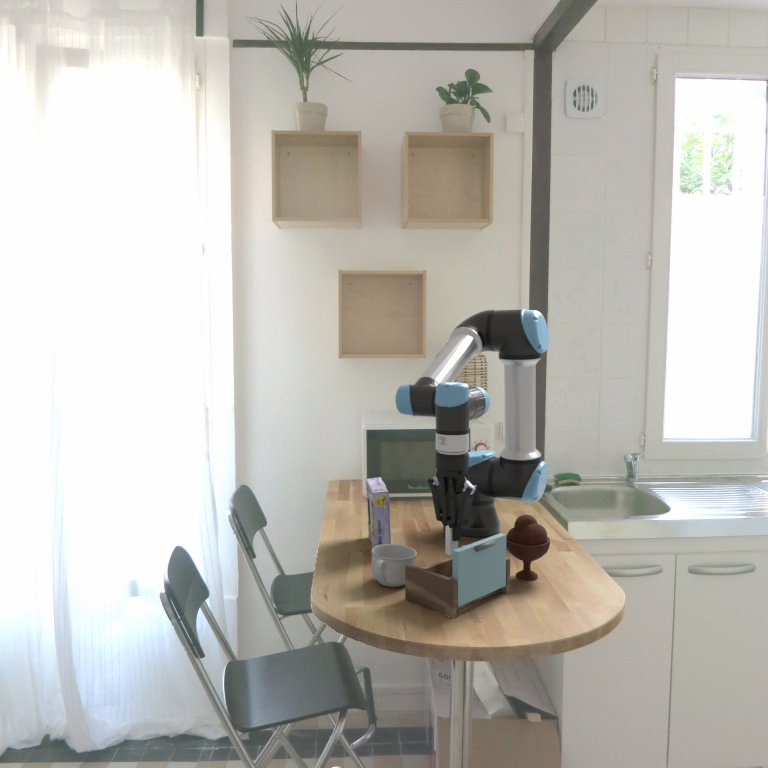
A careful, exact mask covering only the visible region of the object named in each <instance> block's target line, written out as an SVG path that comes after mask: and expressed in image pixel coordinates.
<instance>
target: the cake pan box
mask: <svg viewBox="0 0 768 768" xmlns="http://www.w3.org/2000/svg"><path fill="white" fill-rule="evenodd" d="M366 497H367V515H368V516H367V517H368V522H367V523H368V525H367V527H368V528H367V529H368V530H367V531H368V539H369V542H370V544H371V547H372V548H373V547H375V546H377V545H382V544H392V535H391V534H392V533H391V532H392V531H391V509H390V505H391V504H390V492H389V490H388V488H387V485H386V484H385V482H384V481H383V480H382V477H372V478H366ZM372 548H371V549H372Z"/></svg>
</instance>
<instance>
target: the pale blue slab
mask: <svg viewBox="0 0 768 768" xmlns="http://www.w3.org/2000/svg"><path fill="white" fill-rule="evenodd" d="M506 535H507V534H505V533H502V532H499V533H497V534H495V535H491V536H487V537H486V538H483V539H480V540H477V541H475V542H471V543H470V544H466V546H463V547H460V546H459V547H458V549H455V550H453V555H452V557H453V559H452V579H455V580H457V607H460V606H462V605H464V604H466V603H469V602H471V601H473V600H475V599H478V598H480V597H482V596H484V595H487V594H489V593H491V592H493V591H496V590H498V589H500V588H502V587H505V586H506V558H507V547H506Z"/></svg>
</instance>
